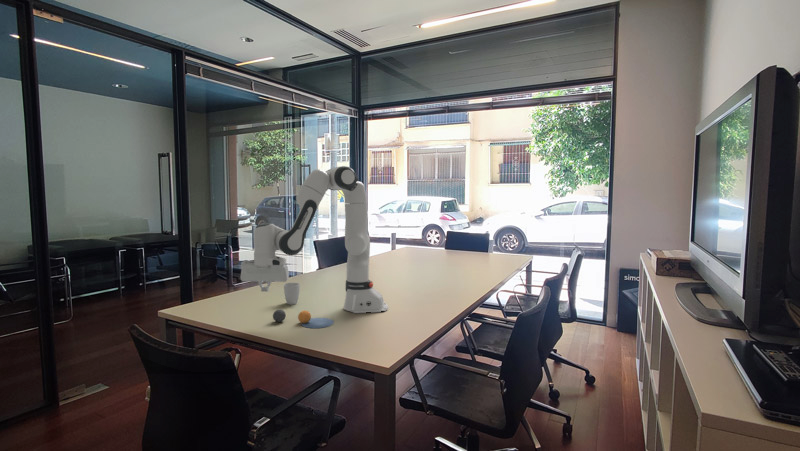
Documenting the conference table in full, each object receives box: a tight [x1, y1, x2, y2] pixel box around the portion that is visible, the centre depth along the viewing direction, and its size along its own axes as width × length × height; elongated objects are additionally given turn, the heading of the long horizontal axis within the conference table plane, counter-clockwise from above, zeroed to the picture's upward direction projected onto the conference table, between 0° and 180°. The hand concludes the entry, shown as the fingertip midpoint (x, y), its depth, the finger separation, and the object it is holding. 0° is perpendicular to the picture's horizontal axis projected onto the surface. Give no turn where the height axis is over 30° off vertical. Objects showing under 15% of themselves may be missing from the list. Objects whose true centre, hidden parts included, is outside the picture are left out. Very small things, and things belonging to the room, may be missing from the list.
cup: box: [283, 282, 301, 305], centre depth 205 cm, size 8×8×10 cm
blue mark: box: [300, 317, 335, 329], centre depth 174 cm, size 14×14×1 cm
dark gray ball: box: [272, 308, 287, 323], centre depth 175 cm, size 6×6×6 cm
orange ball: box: [297, 310, 312, 324], centre depth 174 cm, size 6×6×6 cm
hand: (265, 291), depth 173 cm, fingers closed
